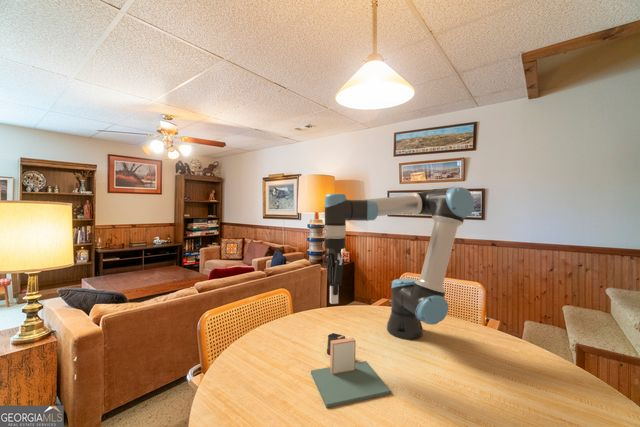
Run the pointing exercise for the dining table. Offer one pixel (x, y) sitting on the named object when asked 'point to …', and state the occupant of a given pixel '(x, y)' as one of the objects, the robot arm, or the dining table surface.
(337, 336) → the electronic device
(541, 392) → the dining table surface
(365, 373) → the mat
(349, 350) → the tile
